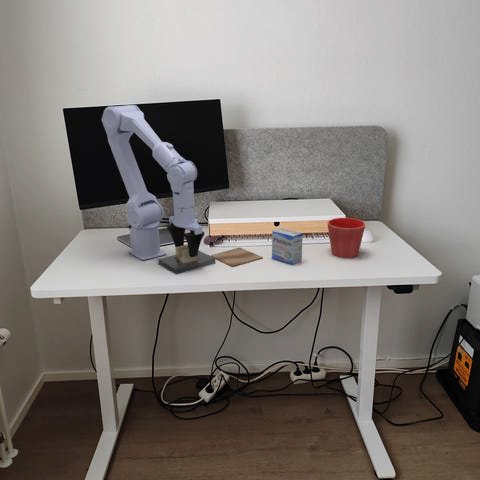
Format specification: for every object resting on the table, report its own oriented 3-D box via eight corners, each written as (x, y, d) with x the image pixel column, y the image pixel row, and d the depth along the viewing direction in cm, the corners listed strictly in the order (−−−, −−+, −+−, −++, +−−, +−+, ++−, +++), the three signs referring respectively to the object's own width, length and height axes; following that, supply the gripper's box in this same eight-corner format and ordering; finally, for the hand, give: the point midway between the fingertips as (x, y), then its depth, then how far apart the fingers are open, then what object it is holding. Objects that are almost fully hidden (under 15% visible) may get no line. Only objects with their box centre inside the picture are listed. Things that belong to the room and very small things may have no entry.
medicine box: (271, 259, 148) (271, 230, 146) (280, 255, 152) (281, 227, 149) (292, 265, 143) (293, 236, 141) (302, 261, 146) (303, 232, 144)
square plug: (176, 263, 146) (175, 247, 145) (189, 260, 149) (188, 243, 147) (184, 268, 143) (183, 251, 141) (197, 264, 145) (197, 248, 144)
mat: (210, 256, 151) (210, 255, 151) (239, 248, 157) (239, 247, 157) (232, 267, 143) (232, 265, 143) (262, 258, 149) (262, 257, 149)
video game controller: (214, 249, 162) (223, 231, 159) (201, 242, 162) (210, 224, 159) (221, 239, 171) (230, 222, 168) (209, 233, 171) (218, 216, 168)
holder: (158, 264, 146) (158, 259, 145) (196, 254, 153) (196, 249, 153) (176, 274, 138) (176, 269, 138) (215, 263, 146) (215, 258, 145)
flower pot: (340, 262, 145) (342, 230, 142) (319, 250, 155) (320, 220, 151) (370, 256, 149) (373, 225, 146) (348, 245, 159) (350, 215, 156)
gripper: (210, 208, 137) (212, 256, 141) (182, 199, 148) (185, 243, 152) (188, 213, 133) (191, 261, 137) (161, 203, 144) (164, 248, 148)
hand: (186, 252), depth 145 cm, fingers open, 7 cm apart
